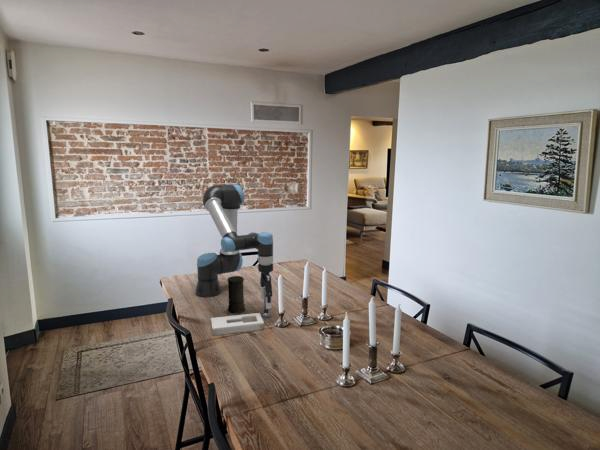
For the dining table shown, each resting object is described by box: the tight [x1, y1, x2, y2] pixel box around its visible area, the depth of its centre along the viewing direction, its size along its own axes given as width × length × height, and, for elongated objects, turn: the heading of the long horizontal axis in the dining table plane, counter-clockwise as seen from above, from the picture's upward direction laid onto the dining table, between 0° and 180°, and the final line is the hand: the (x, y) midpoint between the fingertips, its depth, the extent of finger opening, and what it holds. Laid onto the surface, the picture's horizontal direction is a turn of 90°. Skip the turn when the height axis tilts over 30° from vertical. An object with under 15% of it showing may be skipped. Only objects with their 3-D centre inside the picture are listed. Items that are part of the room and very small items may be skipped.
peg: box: [260, 288, 272, 319], centre depth 202 cm, size 5×5×15 cm
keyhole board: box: [210, 312, 265, 336], centre depth 190 cm, size 12×24×3 cm, turn 106°
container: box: [227, 275, 246, 315], centre depth 208 cm, size 9×9×18 cm
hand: (266, 303), depth 202 cm, fingers open, 13 cm apart
